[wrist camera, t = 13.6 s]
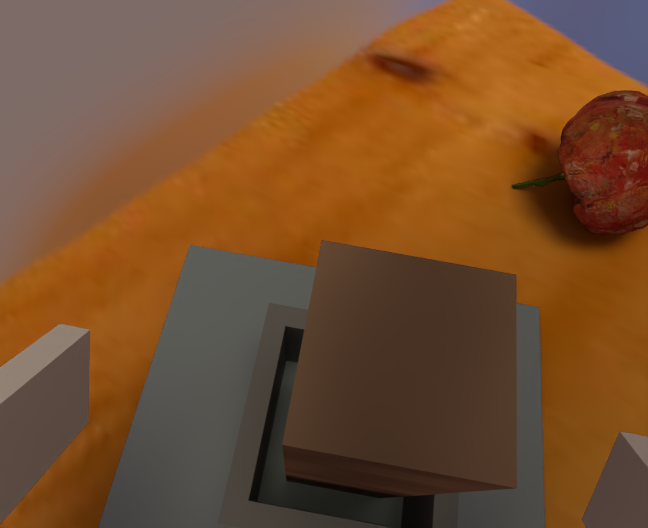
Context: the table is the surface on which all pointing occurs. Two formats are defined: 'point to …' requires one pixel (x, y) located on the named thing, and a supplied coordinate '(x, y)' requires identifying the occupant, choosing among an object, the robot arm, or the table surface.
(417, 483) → the walnut rail post
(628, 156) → the pomegranate
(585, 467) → the table surface
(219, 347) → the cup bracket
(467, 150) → the table surface
